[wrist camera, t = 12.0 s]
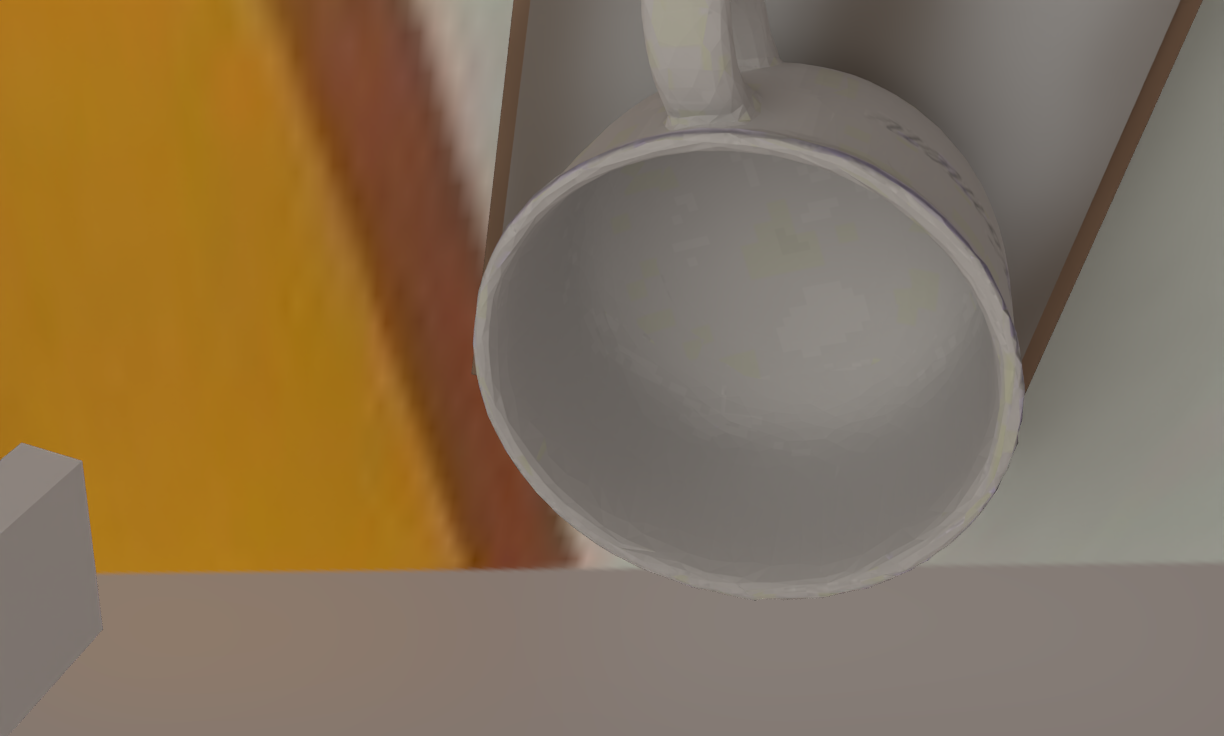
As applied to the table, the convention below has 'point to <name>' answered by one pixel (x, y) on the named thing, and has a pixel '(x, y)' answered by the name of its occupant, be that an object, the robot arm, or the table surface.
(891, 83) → the walnut riser
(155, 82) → the table surface
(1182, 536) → the table surface
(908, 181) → the teacup
